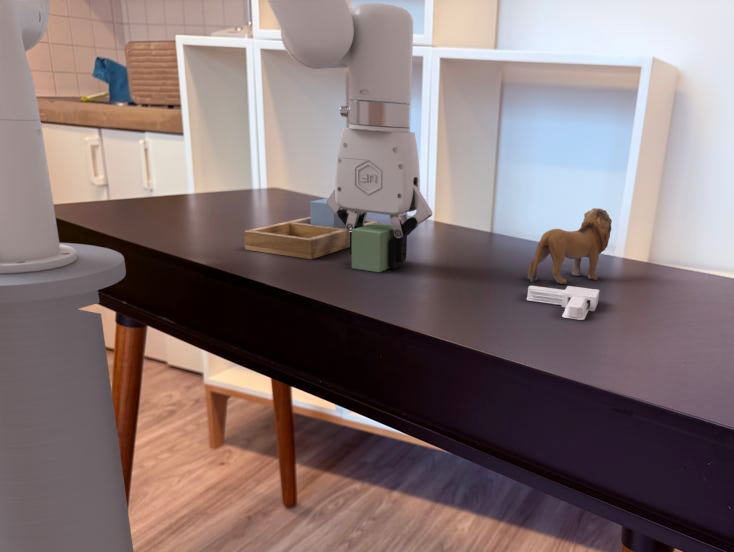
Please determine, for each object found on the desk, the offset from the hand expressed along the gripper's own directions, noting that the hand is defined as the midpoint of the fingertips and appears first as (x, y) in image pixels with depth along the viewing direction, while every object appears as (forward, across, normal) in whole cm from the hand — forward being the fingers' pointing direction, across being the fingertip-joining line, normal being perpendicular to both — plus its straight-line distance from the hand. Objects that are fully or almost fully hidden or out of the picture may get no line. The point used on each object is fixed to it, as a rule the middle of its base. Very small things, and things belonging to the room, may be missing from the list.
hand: (377, 262), depth 88 cm
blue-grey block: (0, -14, +13) cm, 19 cm away
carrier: (0, -14, +8) cm, 16 cm away
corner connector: (+1, +26, -7) cm, 27 cm away
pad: (0, 0, 0) cm, 0 cm away
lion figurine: (+1, +24, +8) cm, 25 cm away
